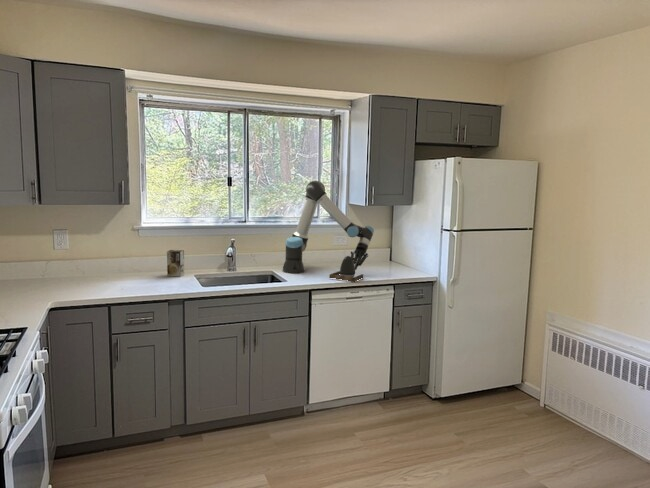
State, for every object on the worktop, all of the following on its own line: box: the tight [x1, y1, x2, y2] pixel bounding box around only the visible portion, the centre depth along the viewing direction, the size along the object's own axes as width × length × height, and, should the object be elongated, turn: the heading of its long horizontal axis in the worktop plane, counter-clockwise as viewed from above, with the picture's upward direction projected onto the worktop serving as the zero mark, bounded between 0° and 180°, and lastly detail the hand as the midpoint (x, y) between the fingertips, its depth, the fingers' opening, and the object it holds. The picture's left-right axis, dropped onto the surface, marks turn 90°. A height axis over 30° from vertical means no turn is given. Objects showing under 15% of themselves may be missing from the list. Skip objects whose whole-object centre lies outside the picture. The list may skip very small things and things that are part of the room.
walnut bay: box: [328, 270, 364, 283], centre depth 316 cm, size 18×14×3 cm
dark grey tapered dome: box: [339, 255, 356, 277], centre depth 316 cm, size 10×10×15 cm
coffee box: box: [166, 249, 185, 277], centre depth 307 cm, size 9×6×16 cm
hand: (351, 272), depth 322 cm, fingers closed
